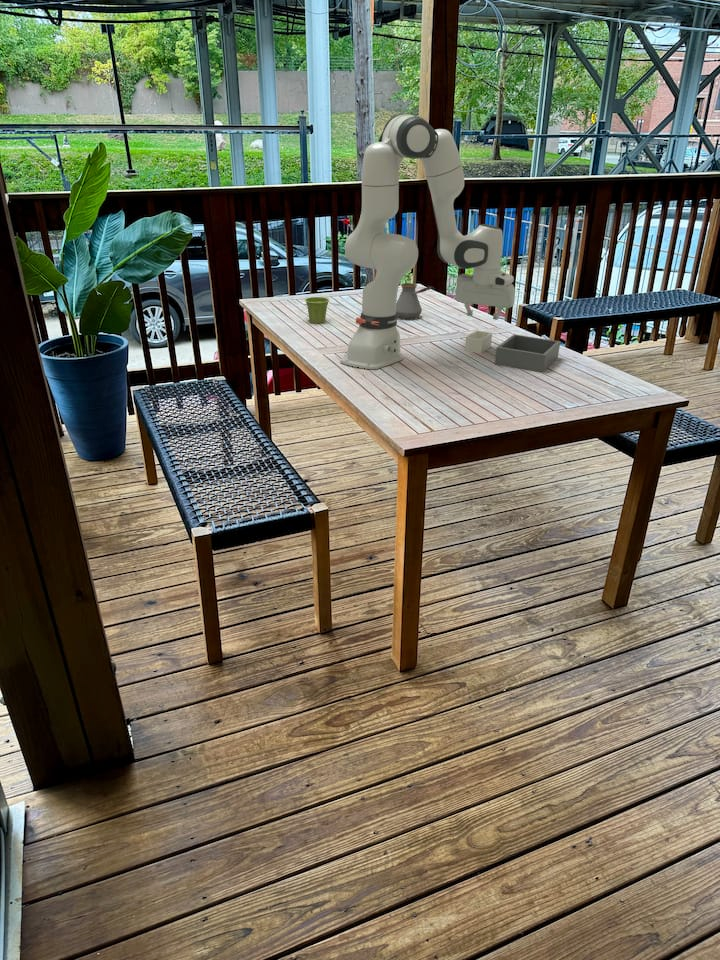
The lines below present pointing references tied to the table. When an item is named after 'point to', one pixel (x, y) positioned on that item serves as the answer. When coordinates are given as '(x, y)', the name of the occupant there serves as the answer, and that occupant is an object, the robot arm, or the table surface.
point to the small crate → (478, 341)
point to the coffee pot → (409, 301)
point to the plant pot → (317, 309)
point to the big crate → (527, 353)
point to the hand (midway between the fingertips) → (482, 317)
